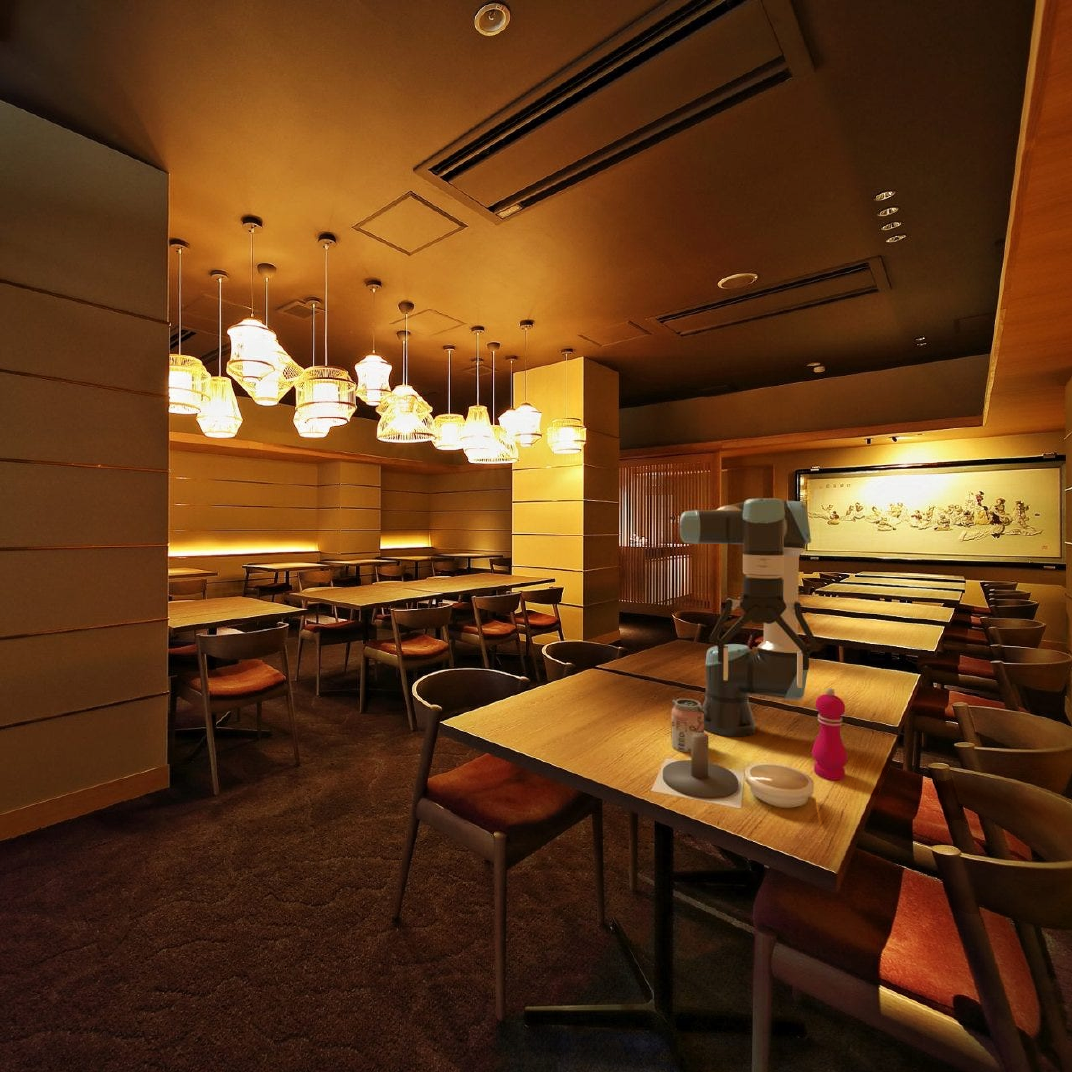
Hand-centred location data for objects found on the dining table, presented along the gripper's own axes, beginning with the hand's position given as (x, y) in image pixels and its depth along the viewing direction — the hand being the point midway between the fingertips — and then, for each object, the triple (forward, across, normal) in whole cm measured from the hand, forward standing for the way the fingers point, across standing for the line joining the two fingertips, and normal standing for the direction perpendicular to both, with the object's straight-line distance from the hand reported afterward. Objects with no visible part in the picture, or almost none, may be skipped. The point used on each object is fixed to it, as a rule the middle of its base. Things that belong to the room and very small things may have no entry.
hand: (761, 682), depth 108 cm
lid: (+26, -12, +8) cm, 29 cm away
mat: (+26, -12, +8) cm, 30 cm away
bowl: (+26, +4, +6) cm, 27 cm away
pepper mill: (+26, +15, +24) cm, 39 cm away
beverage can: (+26, -17, +27) cm, 41 cm away
